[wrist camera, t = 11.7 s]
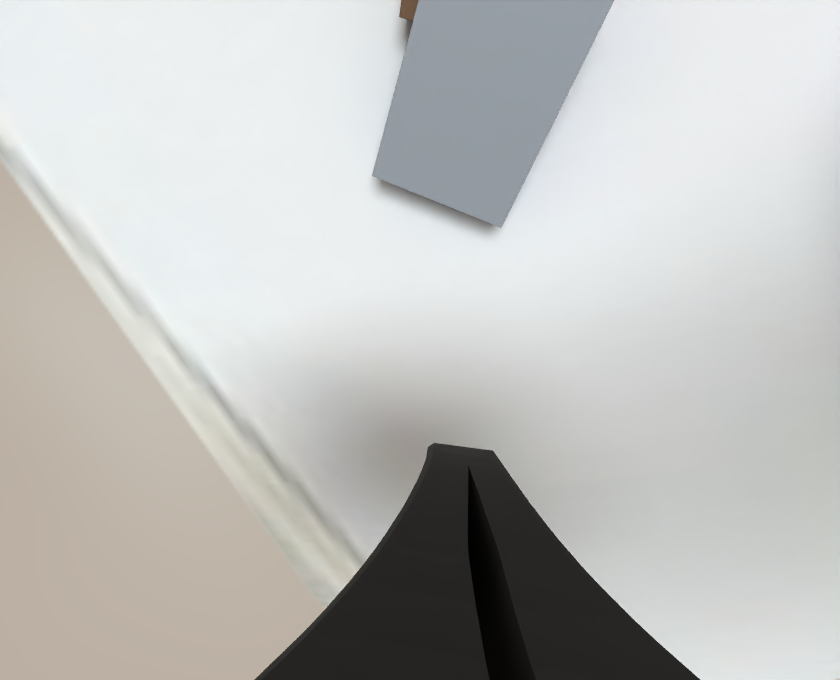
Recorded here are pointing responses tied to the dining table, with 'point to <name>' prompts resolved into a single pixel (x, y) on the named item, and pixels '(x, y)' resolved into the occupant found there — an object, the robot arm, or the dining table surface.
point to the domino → (482, 97)
